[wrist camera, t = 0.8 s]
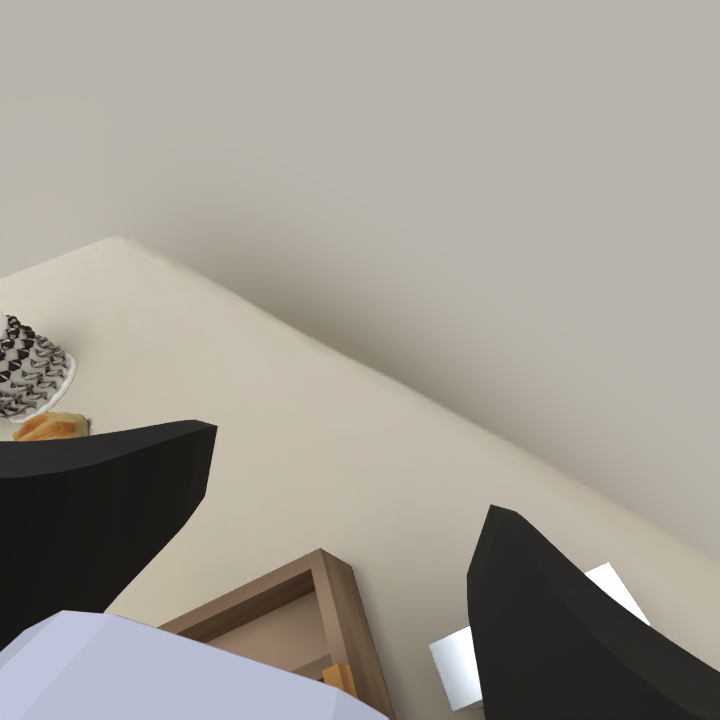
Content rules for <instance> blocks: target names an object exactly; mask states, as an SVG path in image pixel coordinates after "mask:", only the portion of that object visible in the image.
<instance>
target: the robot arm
mask: <svg viewBox="0 0 720 720" xmlns="http://www.w3.org/2000/svg"><path fill="white" fill-rule="evenodd" d="M217 428H218V426H216V425H212V424H209V423H205V422H202V421H198V420H184V421H176V422H170V423H164V424H159V425H153V426H148V427H142V428H137V429H131V430H125V431H119V432H112V433H105V434H98V435H92V436H85V437H76V438H66V439H53V440H39V441H0V720H389V718H388V717H386V716H385V715H383V714H382V713H380V712H379V711H377V710H375V709H374V708H372V707H370V706H369V705H367V704H365V703H363V702H362V701H360V700H358V699H357V698H355V697H353V696H352V695H350V694H348V693H346V692H345V691H343V690H341V689H340V688H338V687H335V686H332V685H329V684H326V683H323V682H320V681H317V680H314V679H311V678H308V677H305V676H302V675H298V674H295V673H292V672H289V671H286V670H283V669H280V668H277V667H274V666H271V665H268V664H265V663H262V662H259V661H256V660H253V659H250V658H247V657H244V656H241V655H238V654H234V653H231V652H228V651H225V650H222V649H219V648H216V647H213V646H210V645H207V644H204V643H201V642H198V641H195V640H192V639H189V638H186V637H183V636H180V635H177V634H174V633H170V632H167V631H164V630H161V629H158V628H155V627H152V626H149V625H146V624H143V623H140V622H137V621H134V620H131V619H128V618H125V617H122V616H119V615H112V614H103V613H104V611H105V610H106V609H107V608H108V607H109V605H110V604H111V603H112V602H113V601H114V600H115V599H116V597H117V596H118V595H119V594H120V593H121V592H122V591H123V590H124V589H125V588H126V587H127V586H128V584H129V583H130V582H131V581H132V580H133V579H134V578H135V577H136V576H137V575H138V574H139V573H140V572H141V571H142V570H143V569H144V568H145V567H146V566H147V565H148V563H149V562H150V561H151V560H152V559H153V558H154V557H155V556H156V555H157V554H158V553H159V552H160V551H161V550H162V549H163V548H164V547H165V546H166V545H167V543H168V542H169V541H170V540H171V539H172V538H173V537H174V536H175V535H176V534H177V533H178V532H179V531H180V529H181V528H182V527H183V526H184V525H185V524H186V522H187V521H188V519H189V518H190V517H191V515H192V514H193V513H194V511H195V510H196V508H197V507H198V505H199V504H200V502H201V501H202V500H203V498H204V497H205V493H206V487H207V482H208V477H209V471H210V466H211V460H212V455H213V449H214V444H215V438H216V433H217ZM467 601H468V616H469V623H470V629H471V635H472V641H473V647H474V653H475V659H476V665H477V671H478V676H479V682H480V688H481V694H482V700H483V706H484V712H485V720H720V672H719V671H717V670H715V669H714V668H712V667H710V666H709V665H707V664H706V663H704V662H702V661H701V660H699V659H698V658H696V657H695V656H693V655H692V654H690V653H689V652H687V651H686V650H684V649H683V648H681V647H679V646H678V645H676V644H675V643H673V642H672V641H670V640H669V639H667V638H666V637H665V636H663V635H662V634H660V633H659V632H657V631H656V630H654V629H653V628H652V627H650V626H649V625H648V624H646V623H645V622H644V621H642V620H641V619H640V618H638V617H637V616H636V615H634V614H633V613H632V612H630V611H629V610H627V609H626V608H625V607H623V606H622V605H621V604H620V603H618V602H617V601H616V600H615V599H613V598H612V597H611V596H610V595H608V594H607V593H606V592H605V591H604V590H602V589H601V588H600V587H599V586H598V585H597V584H595V583H594V582H593V581H592V580H591V579H590V578H588V577H587V576H586V575H585V574H584V573H583V572H582V571H581V570H579V569H578V568H577V567H576V566H575V565H574V564H573V563H572V562H571V561H570V560H568V559H567V558H566V557H565V556H564V555H563V554H562V553H561V552H560V551H559V550H558V549H557V548H556V547H555V546H554V545H553V544H551V543H550V542H549V541H548V540H547V539H546V538H545V537H544V536H543V535H542V534H541V533H540V532H539V531H538V530H537V529H536V528H535V527H534V526H532V525H531V524H530V523H529V522H528V521H527V520H526V519H525V518H524V517H522V516H521V515H520V514H518V513H517V512H515V511H512V510H509V509H505V508H502V507H498V506H495V505H490V508H489V511H488V514H487V517H486V520H485V523H484V526H483V529H482V532H481V535H480V537H479V540H478V543H477V546H476V549H475V552H474V555H473V558H472V561H471V564H470V567H469V570H468V573H467Z"/></svg>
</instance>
